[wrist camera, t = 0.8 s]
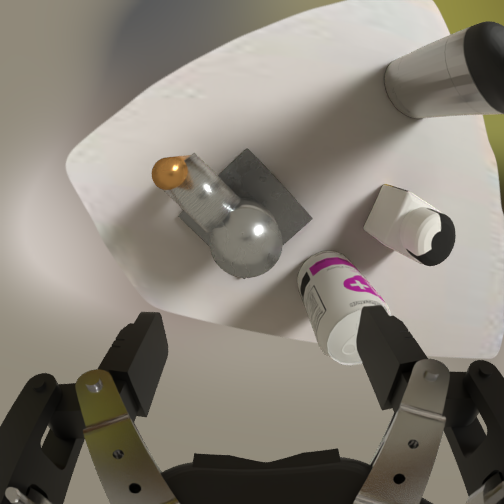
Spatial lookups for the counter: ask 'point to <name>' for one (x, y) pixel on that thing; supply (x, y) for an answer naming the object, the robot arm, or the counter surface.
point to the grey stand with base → (259, 196)
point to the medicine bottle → (411, 226)
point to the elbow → (222, 216)
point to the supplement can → (336, 303)
